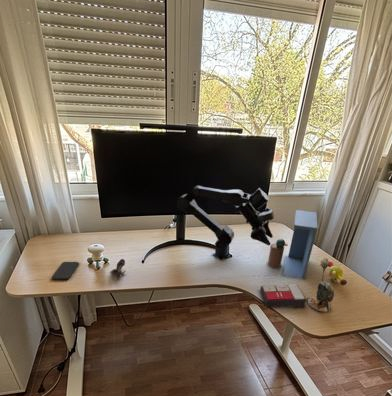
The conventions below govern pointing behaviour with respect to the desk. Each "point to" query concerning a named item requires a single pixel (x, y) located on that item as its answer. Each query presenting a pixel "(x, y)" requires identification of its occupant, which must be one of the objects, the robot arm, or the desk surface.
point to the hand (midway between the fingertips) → (270, 241)
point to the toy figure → (336, 273)
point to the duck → (276, 253)
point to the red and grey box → (282, 295)
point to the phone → (65, 271)
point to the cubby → (301, 244)
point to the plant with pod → (322, 293)
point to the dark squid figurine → (119, 268)
